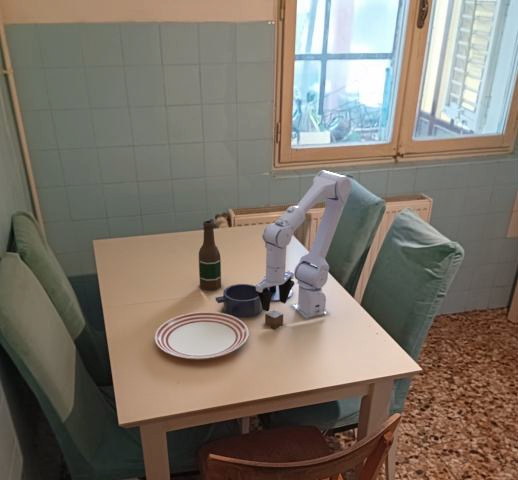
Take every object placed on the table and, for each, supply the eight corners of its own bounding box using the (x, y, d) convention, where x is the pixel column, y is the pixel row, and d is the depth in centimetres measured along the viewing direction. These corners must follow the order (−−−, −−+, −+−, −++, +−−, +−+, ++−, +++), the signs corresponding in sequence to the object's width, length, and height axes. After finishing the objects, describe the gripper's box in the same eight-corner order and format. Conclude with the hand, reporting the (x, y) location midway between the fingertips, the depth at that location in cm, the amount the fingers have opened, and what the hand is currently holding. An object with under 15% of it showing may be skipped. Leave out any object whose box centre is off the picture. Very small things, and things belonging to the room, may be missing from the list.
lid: (299, 299, 193) (299, 286, 191) (262, 306, 188) (263, 293, 186) (281, 283, 204) (281, 271, 201) (246, 289, 199) (246, 277, 196)
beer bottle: (218, 293, 196) (216, 226, 183) (196, 291, 197) (193, 224, 185) (224, 284, 202) (222, 219, 190) (203, 282, 204) (200, 217, 191)
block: (282, 325, 177) (283, 314, 175) (274, 329, 175) (274, 318, 173) (273, 320, 180) (274, 309, 178) (264, 325, 177) (265, 313, 175)
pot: (276, 313, 184) (276, 295, 181) (224, 323, 178) (223, 305, 174) (260, 297, 194) (260, 280, 190) (210, 306, 187) (209, 289, 184)
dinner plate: (143, 362, 158) (141, 352, 156) (169, 316, 181) (168, 307, 179) (240, 371, 155) (240, 361, 153) (254, 323, 178) (254, 314, 176)
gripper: (282, 254, 174) (280, 294, 181) (248, 267, 165) (248, 309, 172) (299, 261, 169) (297, 302, 176) (266, 274, 161) (265, 317, 168)
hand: (274, 306), depth 174 cm, fingers open, 7 cm apart
